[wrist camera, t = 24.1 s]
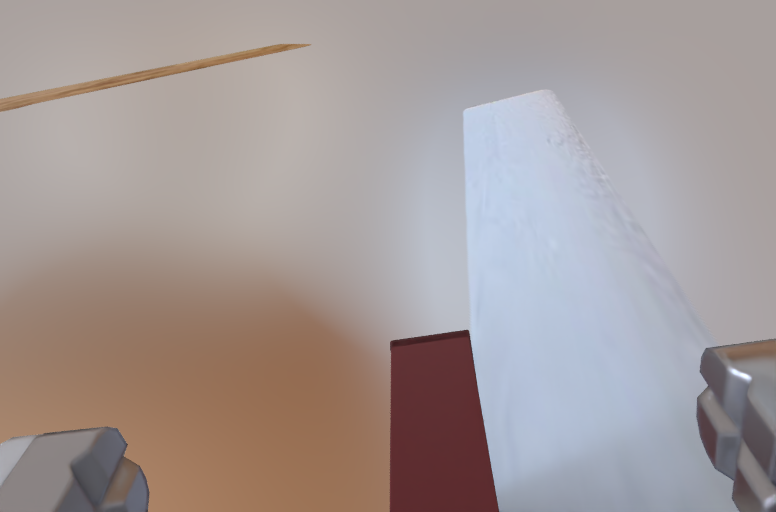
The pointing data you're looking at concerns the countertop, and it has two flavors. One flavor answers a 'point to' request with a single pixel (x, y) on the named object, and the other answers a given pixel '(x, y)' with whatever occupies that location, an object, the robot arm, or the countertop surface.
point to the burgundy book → (437, 428)
